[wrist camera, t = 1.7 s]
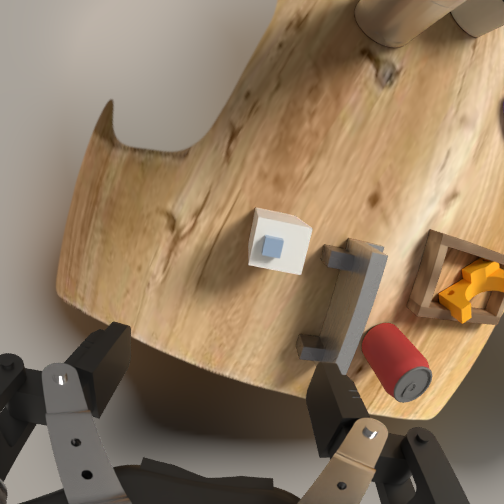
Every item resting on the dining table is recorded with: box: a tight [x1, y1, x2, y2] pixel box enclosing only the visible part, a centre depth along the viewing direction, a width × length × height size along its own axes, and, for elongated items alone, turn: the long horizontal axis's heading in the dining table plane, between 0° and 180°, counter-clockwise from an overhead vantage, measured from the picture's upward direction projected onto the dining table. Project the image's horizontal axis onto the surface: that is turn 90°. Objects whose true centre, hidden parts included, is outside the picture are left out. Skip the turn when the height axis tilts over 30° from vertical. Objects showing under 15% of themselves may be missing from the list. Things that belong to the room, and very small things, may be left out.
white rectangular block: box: [248, 208, 312, 275], centre depth 31 cm, size 5×5×11 cm
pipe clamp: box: [438, 257, 504, 324], centre depth 36 cm, size 12×4×6 cm, turn 113°
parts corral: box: [406, 229, 504, 325], centre depth 37 cm, size 12×21×4 cm, turn 78°
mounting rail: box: [296, 238, 388, 375], centre depth 35 cm, size 18×8×8 cm, turn 168°
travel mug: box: [451, 0, 504, 37], centre depth 19 cm, size 8×8×18 cm
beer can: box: [362, 323, 432, 403], centre depth 35 cm, size 7×7×12 cm
